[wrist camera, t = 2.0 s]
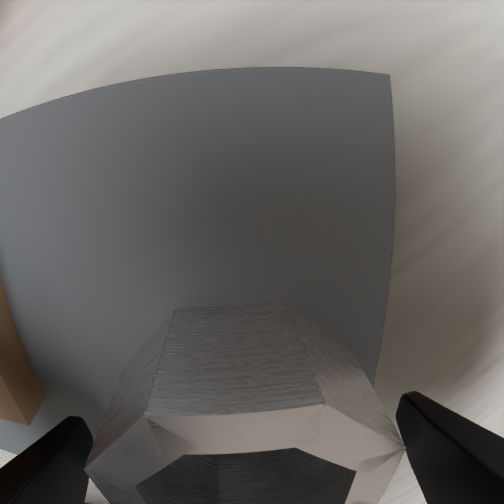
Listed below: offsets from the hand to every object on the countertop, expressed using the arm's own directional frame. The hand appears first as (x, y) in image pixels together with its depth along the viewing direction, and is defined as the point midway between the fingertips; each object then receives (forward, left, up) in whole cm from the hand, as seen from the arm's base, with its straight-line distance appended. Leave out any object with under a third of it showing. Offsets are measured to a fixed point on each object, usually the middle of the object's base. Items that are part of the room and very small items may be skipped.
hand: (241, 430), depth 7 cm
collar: (0, 0, -1) cm, 1 cm away
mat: (+2, +5, -2) cm, 5 cm away
